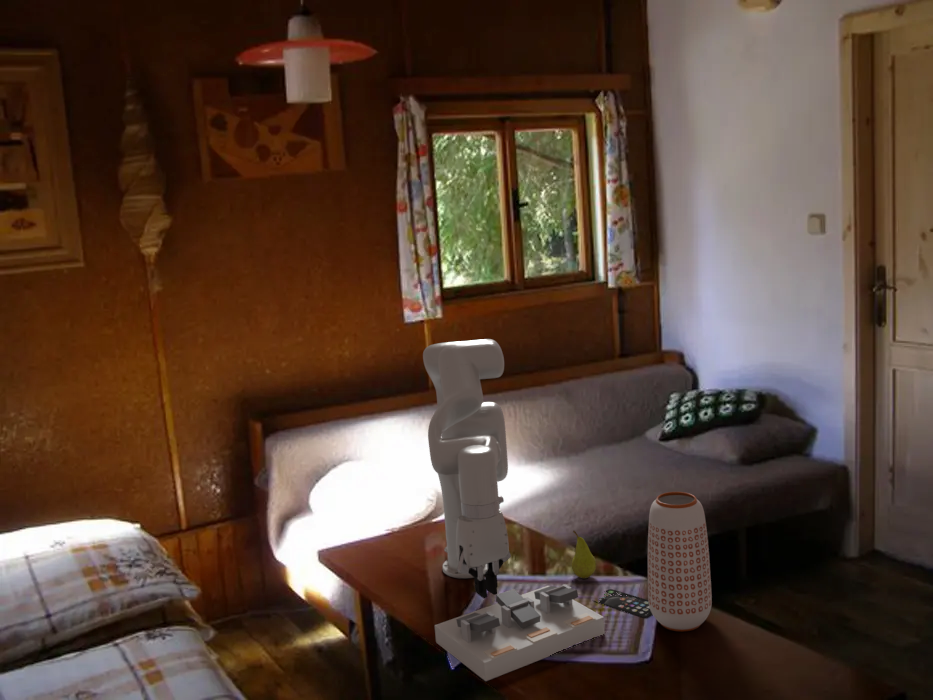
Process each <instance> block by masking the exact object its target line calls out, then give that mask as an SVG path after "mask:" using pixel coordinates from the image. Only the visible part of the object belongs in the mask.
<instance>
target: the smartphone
mask: <svg viewBox="0 0 933 700" xmlns="http://www.w3.org/2000/svg"><path fill="white" fill-rule="evenodd" d="M605 591H606V592H607V593H609V594H611V595H612V596H610V595H606V594H604V595H606V596H605V597H602V598H599V599H600V600H599V601H600V602H599V603H601V604H600V605H602V604H604V605H603V606H605V605H606V607H608V606H609V607H608V608H611V607H612V608H611V609H614V608H616V609H615V610H617V609H619V611H621V610H622V611H621V612H624V611H625V612H624V613H627V612H628V613H627V614H629V613H630V615H633V616H637V617H639V616H640V618H644V619H648V618H649V617H651V616H653V614H652V612H651V610H650V607H649V602H648V599H646V598H643V597H639V596H636V595H633V594H629V593H626V592H622V591H619V590H616V589H614V588H613V589H612V588H611V589H610V588H609V589H607V590H605ZM616 592H617V593H618V594H620V595H622V596H620V595H618V594H617V593H616ZM613 594H614V595H613ZM615 595H616V596H615ZM626 595H627V596H626ZM604 598H605V599H604ZM599 603H598V604H599Z"/></svg>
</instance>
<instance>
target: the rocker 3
mask: <svg viewBox="0 0 933 700" xmlns="http://www.w3.org/2000/svg"><path fill="white" fill-rule="evenodd" d="M541 592H544V593H546V594H547V595H549V601H550V602H555V603H564V602H567V601H569V600H572V599H573V600H575V599H577V598H579V593H578V590H577V589H573V588H572V589H568V588H565V587H564V586H562V585H560V586H559V585H558V586H553V585H549V587H547V588H544V589H541V590H538V591H535V592H534V594H535V599H538V600H540V593H541Z"/></svg>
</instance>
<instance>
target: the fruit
mask: <svg viewBox="0 0 933 700" xmlns="http://www.w3.org/2000/svg"><path fill="white" fill-rule="evenodd" d="M572 533H573V534H575V535H576V545H575V553H574V555H573V558H572V561H571V569H572V572H573V573H574V574H575V575H576V577H578V578H581V579H588V578H590V577H591V576H592V575H593V574H594V572H595V570H596V566H597V563H596V559H595V557H594V556H593V554H592V552H591V550H590V548H589V546H588V544H587V542H586V540H585V539H584V538H583V537H581V536H579V535H578V534H577V532H576V531H575V530H573V531H572Z"/></svg>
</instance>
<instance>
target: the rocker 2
mask: <svg viewBox="0 0 933 700" xmlns="http://www.w3.org/2000/svg"><path fill="white" fill-rule="evenodd" d="M521 595H522V594H520V593H519V592H518V591H517V590H516V589H515V588H512V589H508V590H506V591H504V592H500V593H497V594H496V595H495V602H496V604H497V603H498V604H499V605H500V606H506V607H507V608H509V609H511V618H512V619H513V620H514V621H515V622H516V623H517V624H518V625H519V626H520V627H521V628H525V627H527V626H530V625H533V624H535V623H538V622H540V617H541V616H540V615H539V614H538V613H537V612H536V611H535V609H534V608H533V607H532V606H531V605H530V604H529V603H528V600H527V599H524V598H523V597H522V596H521Z"/></svg>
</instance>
